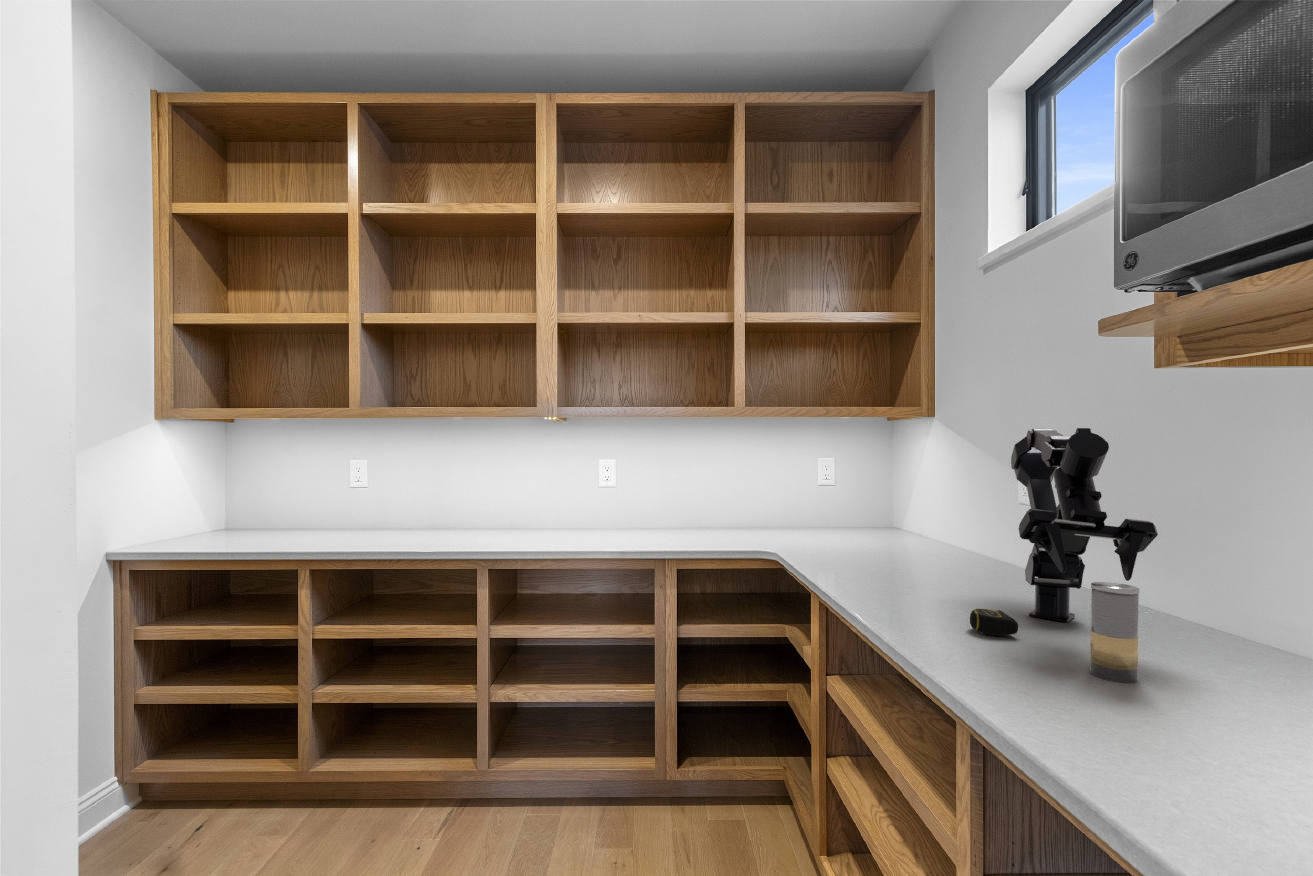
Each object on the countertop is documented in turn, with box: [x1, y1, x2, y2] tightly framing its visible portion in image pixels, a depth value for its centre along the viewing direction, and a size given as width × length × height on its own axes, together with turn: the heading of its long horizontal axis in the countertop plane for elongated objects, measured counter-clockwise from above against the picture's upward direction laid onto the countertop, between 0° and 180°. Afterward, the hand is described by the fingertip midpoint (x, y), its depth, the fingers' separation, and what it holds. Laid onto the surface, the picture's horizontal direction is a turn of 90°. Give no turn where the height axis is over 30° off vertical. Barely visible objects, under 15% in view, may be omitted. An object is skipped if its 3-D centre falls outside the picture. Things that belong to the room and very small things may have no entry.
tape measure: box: [969, 608, 1019, 636], centre depth 117 cm, size 7×7×4 cm
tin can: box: [1089, 581, 1141, 684], centre depth 96 cm, size 6×6×13 cm
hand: (1095, 575), depth 104 cm, fingers open, 9 cm apart
